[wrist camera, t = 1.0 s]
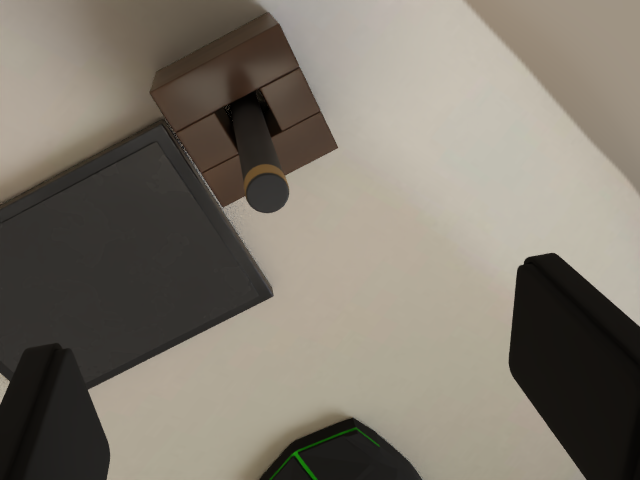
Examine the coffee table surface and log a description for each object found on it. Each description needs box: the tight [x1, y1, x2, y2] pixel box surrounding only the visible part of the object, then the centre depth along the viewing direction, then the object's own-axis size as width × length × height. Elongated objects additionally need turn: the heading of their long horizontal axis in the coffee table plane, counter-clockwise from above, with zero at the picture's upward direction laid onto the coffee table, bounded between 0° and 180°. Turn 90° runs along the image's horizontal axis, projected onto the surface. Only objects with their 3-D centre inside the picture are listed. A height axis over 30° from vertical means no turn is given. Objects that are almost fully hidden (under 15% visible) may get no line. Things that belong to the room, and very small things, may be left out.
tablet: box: [0, 120, 274, 390], centre depth 31 cm, size 12×16×1 cm
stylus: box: [230, 91, 289, 213], centre depth 23 cm, size 1×1×12 cm
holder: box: [150, 12, 338, 207], centre depth 27 cm, size 6×6×4 cm
